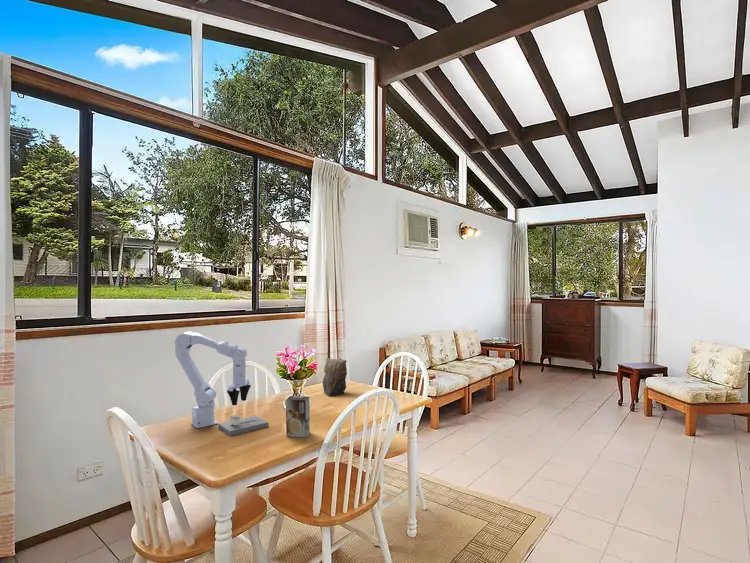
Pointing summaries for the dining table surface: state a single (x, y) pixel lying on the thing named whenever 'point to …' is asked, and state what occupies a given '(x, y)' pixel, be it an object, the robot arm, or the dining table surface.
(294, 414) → the coffee box
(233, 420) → the fader tab
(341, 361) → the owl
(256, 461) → the dining table surface
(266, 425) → the console
